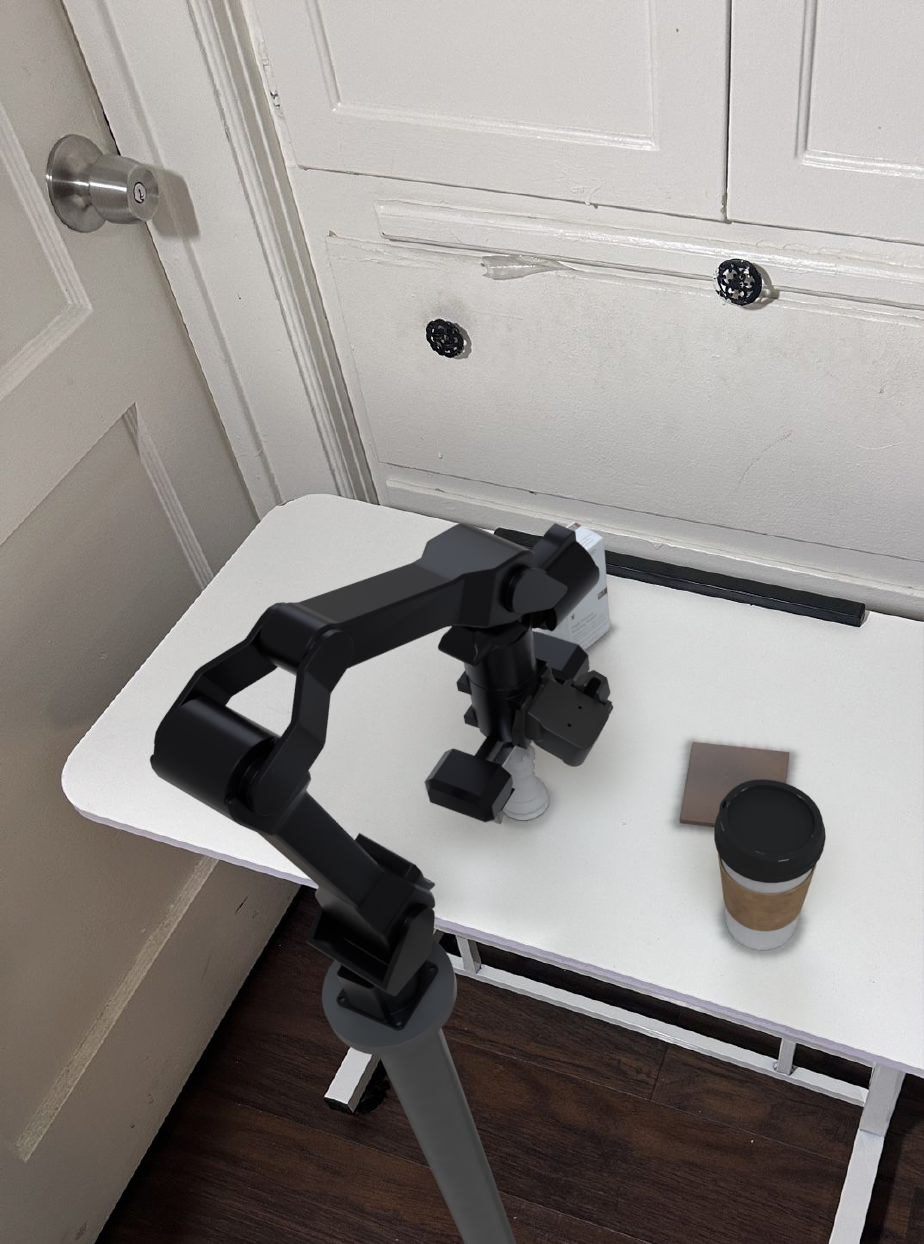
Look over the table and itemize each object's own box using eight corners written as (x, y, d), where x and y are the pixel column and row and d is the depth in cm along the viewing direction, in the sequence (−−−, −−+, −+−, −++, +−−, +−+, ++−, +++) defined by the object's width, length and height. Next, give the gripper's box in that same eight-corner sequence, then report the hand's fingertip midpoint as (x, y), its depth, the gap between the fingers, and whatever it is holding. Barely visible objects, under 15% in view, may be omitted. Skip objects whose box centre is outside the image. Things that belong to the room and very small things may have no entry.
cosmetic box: (572, 662, 122) (562, 572, 113) (539, 641, 124) (527, 551, 115) (613, 627, 125) (607, 537, 116) (581, 608, 127) (572, 517, 118)
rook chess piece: (509, 779, 114) (499, 724, 107) (555, 789, 113) (548, 733, 106) (494, 817, 111) (482, 763, 105) (540, 827, 110) (532, 773, 104)
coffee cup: (726, 866, 107) (732, 760, 95) (822, 892, 105) (839, 787, 93) (698, 947, 102) (700, 846, 90) (797, 976, 100) (812, 876, 88)
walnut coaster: (780, 834, 109) (780, 830, 108) (679, 823, 110) (679, 819, 109) (789, 755, 114) (789, 751, 114) (692, 745, 115) (693, 741, 115)
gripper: (537, 781, 90) (554, 895, 102) (641, 613, 100) (646, 735, 112) (406, 735, 93) (438, 851, 105) (520, 577, 103) (537, 699, 115)
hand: (520, 782), depth 109 cm, fingers open, 9 cm apart
